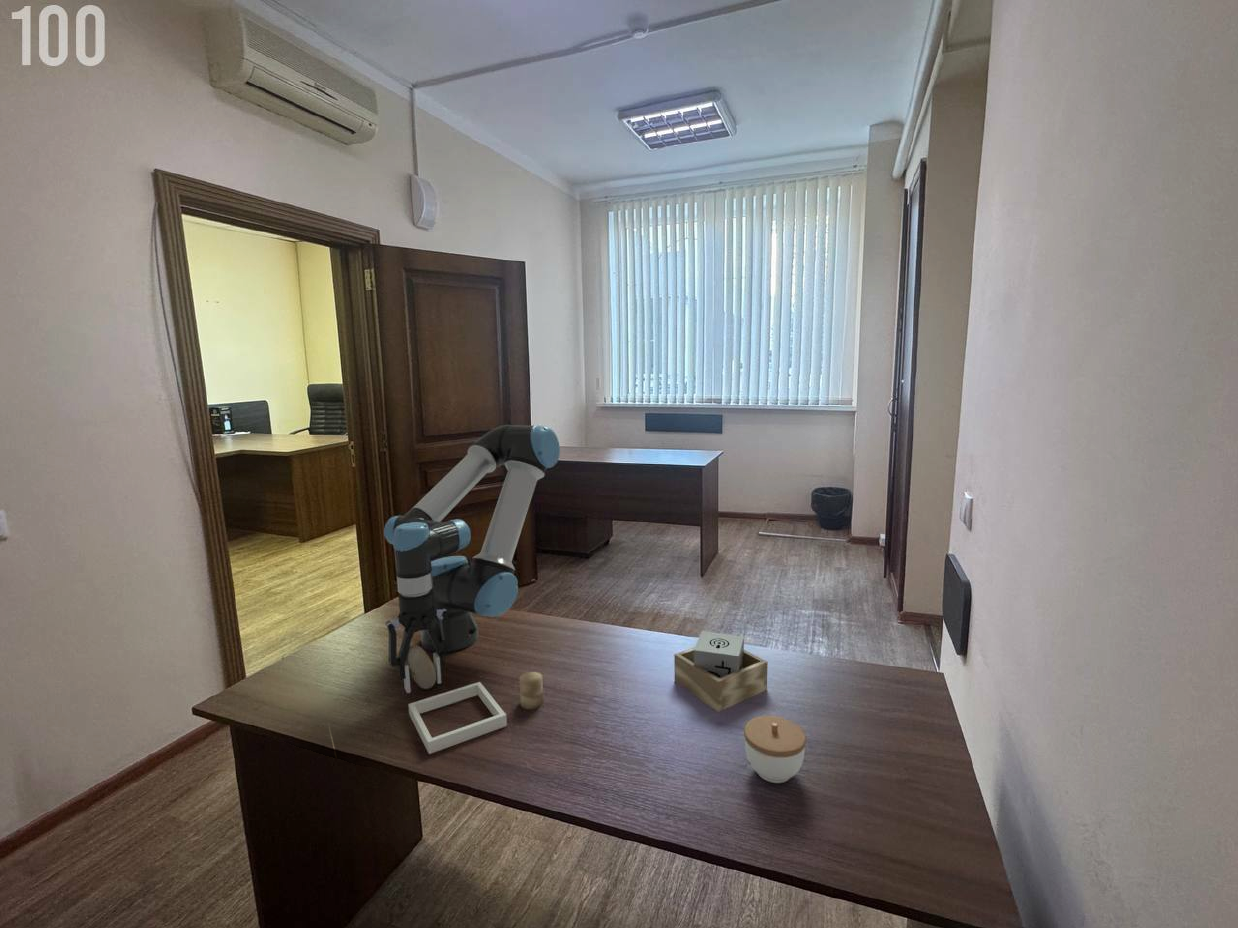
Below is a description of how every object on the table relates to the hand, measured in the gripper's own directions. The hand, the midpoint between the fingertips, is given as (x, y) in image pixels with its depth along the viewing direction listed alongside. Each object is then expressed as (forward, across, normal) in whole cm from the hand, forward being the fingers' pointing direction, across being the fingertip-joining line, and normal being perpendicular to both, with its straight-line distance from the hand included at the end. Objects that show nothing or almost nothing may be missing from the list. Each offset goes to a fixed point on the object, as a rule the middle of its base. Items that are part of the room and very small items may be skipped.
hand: (423, 685), depth 133 cm
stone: (+2, 0, 0) cm, 2 cm away
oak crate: (+2, -58, +38) cm, 69 cm away
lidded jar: (+2, -46, +65) cm, 80 cm away
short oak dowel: (+2, -19, +19) cm, 27 cm away
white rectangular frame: (+1, -3, +16) cm, 16 cm away
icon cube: (+1, -58, +38) cm, 69 cm away
